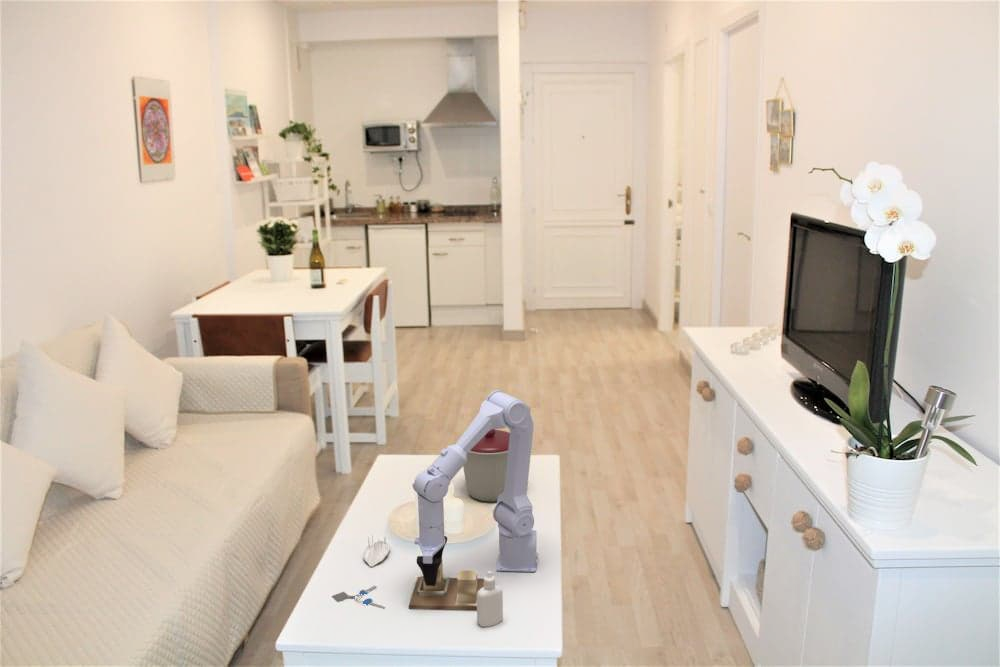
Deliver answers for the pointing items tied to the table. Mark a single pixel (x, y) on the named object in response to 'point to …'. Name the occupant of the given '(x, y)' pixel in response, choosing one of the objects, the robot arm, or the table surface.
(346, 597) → the key chain
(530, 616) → the table surface
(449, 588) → the board
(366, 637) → the table surface
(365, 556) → the pincushion
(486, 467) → the canister
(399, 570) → the table surface
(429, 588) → the maple peg
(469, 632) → the table surface
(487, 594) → the eye dropper bottle
